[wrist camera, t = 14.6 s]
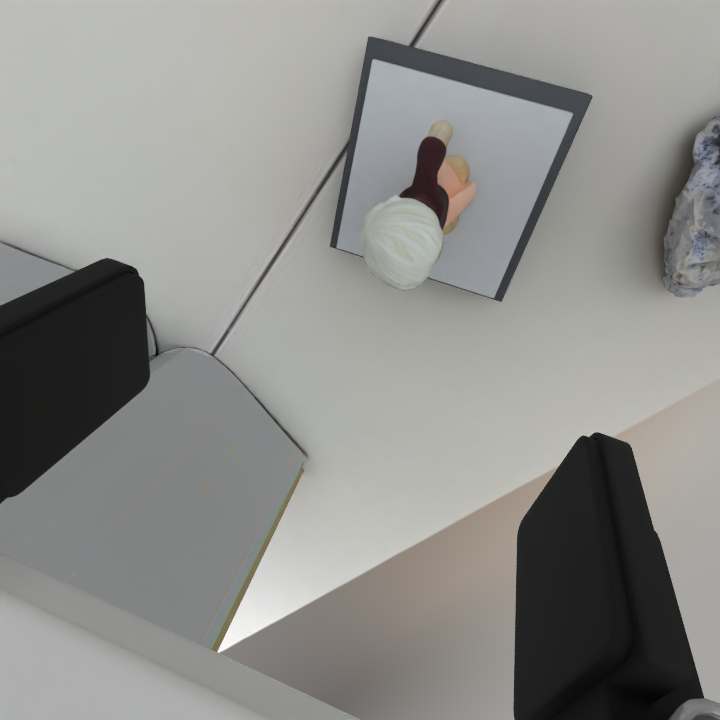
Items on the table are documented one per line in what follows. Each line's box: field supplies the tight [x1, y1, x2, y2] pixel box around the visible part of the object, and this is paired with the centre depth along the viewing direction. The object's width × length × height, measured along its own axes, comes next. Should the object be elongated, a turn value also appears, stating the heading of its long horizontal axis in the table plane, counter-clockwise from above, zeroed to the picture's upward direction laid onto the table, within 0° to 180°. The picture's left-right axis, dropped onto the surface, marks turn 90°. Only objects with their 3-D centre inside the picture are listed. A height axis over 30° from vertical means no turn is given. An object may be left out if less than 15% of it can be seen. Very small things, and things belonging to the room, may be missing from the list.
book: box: [0, 243, 308, 652], centre depth 34 cm, size 36×8×24 cm, turn 56°
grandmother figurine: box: [359, 120, 476, 290], centre depth 22 cm, size 8×4×13 cm, turn 1°
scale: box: [330, 37, 592, 302], centre depth 28 cm, size 12×12×3 cm
